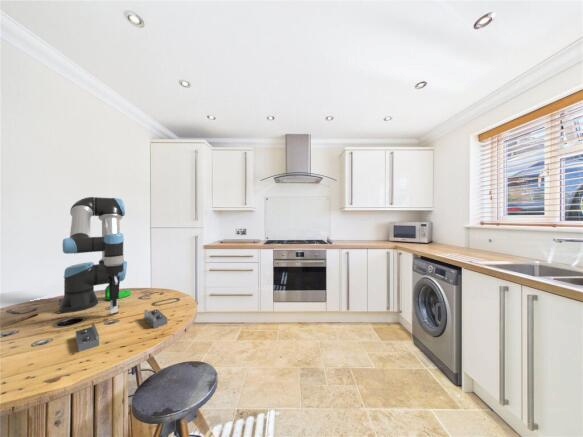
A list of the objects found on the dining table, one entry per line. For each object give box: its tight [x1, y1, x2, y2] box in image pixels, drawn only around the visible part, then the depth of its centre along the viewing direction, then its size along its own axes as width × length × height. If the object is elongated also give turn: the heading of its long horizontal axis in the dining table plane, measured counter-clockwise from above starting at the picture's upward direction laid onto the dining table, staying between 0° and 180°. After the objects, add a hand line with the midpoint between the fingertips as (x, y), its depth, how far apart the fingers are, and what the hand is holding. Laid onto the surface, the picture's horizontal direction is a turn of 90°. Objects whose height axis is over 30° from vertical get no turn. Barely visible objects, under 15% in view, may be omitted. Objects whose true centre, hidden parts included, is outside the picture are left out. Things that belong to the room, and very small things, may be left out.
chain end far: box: [143, 308, 168, 329], centre depth 103 cm, size 14×6×4 cm, turn 48°
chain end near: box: [75, 323, 100, 353], centre depth 85 cm, size 14×6×4 cm, turn 48°
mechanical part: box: [104, 284, 131, 301], centre depth 136 cm, size 12×6×8 cm, turn 158°
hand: (114, 312), depth 109 cm, fingers closed
